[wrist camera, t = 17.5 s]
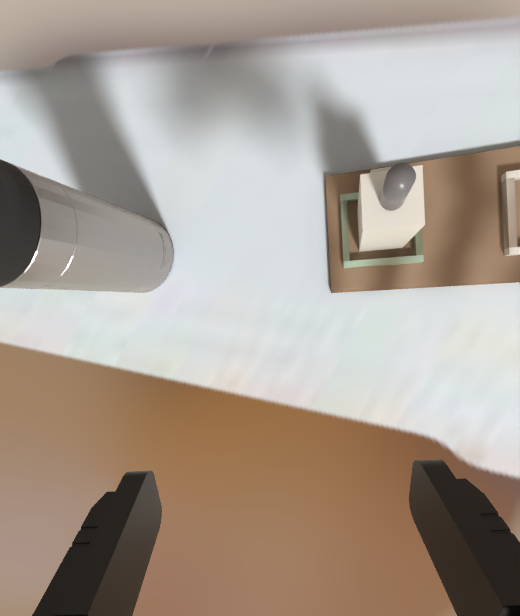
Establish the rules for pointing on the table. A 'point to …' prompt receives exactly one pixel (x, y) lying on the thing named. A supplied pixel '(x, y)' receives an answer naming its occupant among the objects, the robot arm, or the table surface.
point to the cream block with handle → (390, 207)
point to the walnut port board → (436, 228)
